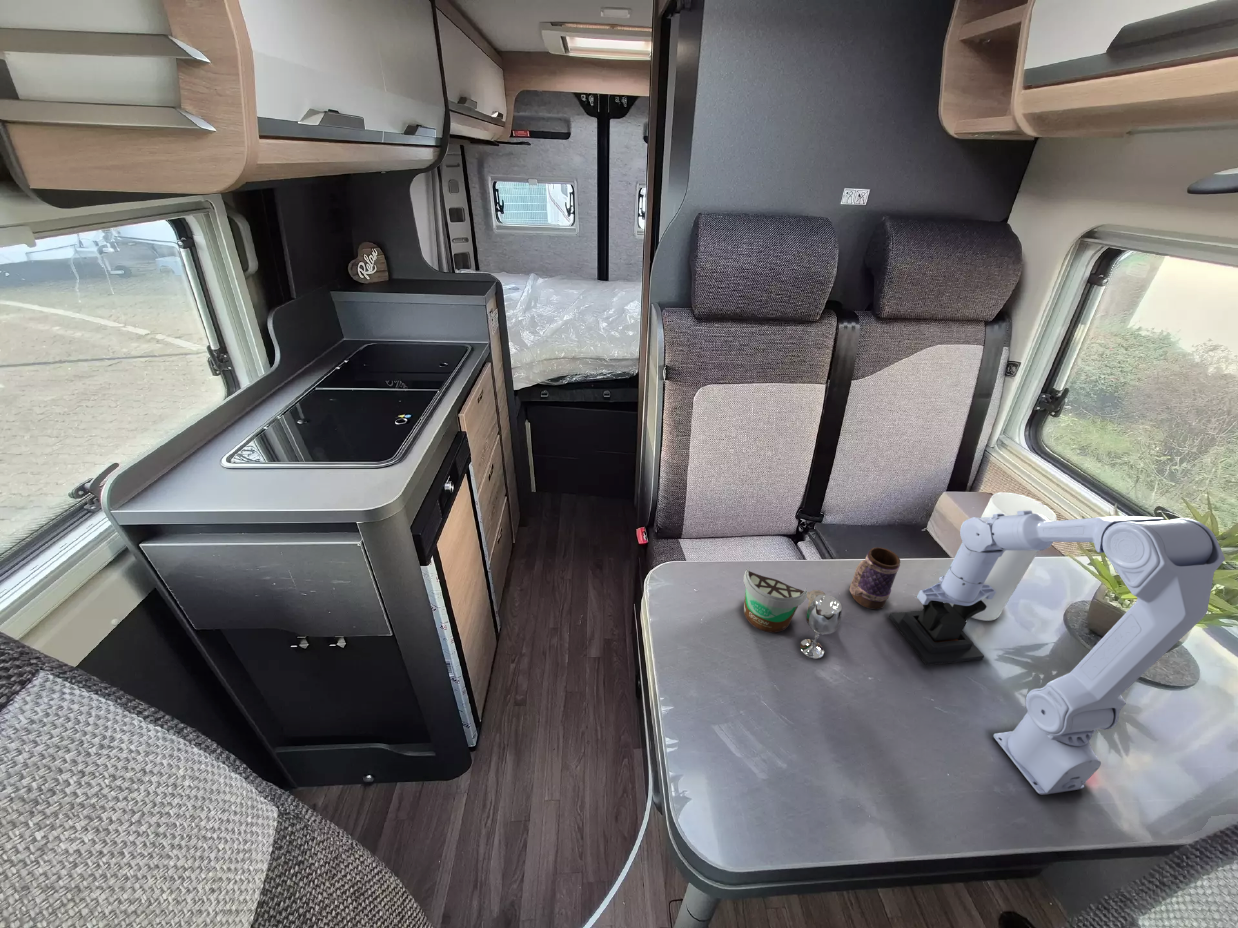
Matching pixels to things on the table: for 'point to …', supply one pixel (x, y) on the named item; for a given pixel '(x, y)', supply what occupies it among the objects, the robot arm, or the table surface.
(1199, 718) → the table surface
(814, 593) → the toy character
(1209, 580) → the robot arm
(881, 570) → the mug
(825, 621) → the wineglass
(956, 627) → the black block
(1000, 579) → the tall pillar cylinder
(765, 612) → the food container
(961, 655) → the base pad
